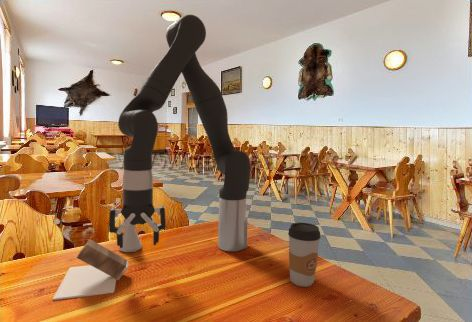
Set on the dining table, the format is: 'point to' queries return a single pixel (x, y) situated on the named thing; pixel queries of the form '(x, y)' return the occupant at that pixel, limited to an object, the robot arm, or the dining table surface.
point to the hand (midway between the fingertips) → (138, 245)
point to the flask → (130, 240)
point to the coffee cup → (303, 253)
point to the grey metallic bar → (103, 259)
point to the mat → (85, 283)
